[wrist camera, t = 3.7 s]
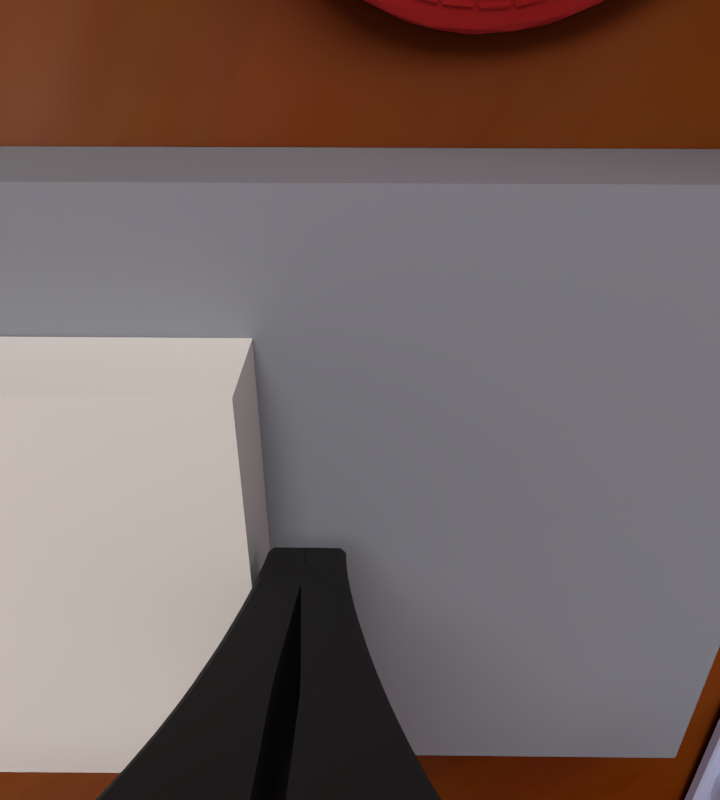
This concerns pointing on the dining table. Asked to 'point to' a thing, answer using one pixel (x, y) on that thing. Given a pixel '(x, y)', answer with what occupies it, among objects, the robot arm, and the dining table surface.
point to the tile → (119, 536)
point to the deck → (442, 399)
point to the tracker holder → (482, 13)
